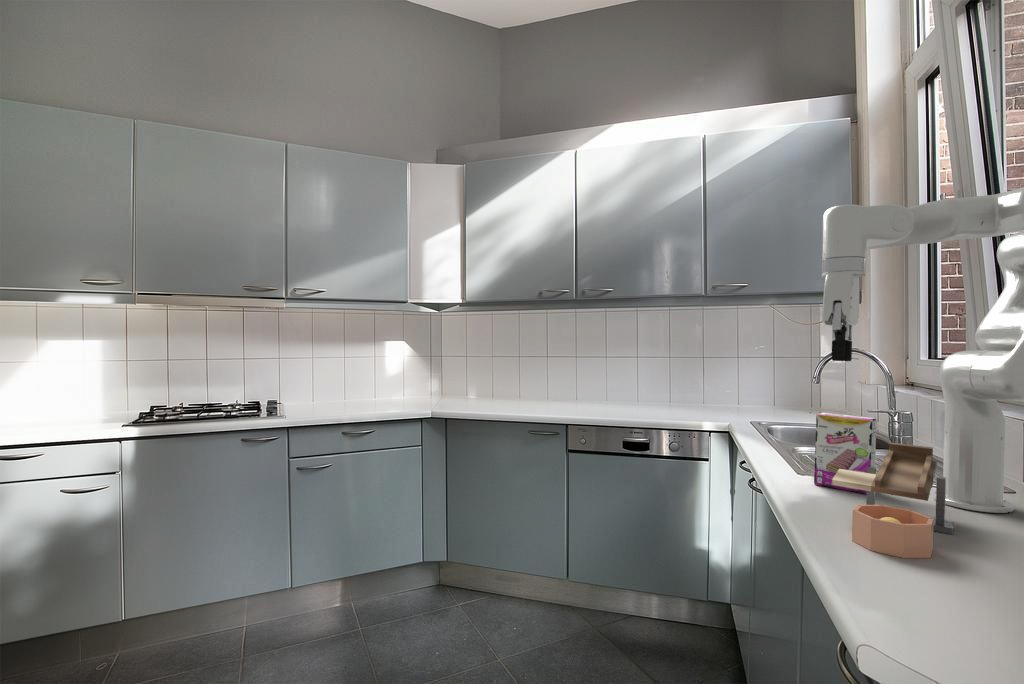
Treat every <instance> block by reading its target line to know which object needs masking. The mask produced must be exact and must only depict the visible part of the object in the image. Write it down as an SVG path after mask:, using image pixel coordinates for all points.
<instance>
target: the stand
mask: <svg viewBox="0 0 1024 684" xmlns="http://www.w3.org/2000/svg"><path fill="white" fill-rule="evenodd" d="M867 473H871V474H877V467H876V466H875V467H868V468H867ZM935 486H936V490H935V492H936V500H935V518H934V517H932V518H933V519H934V520H933V532H938V533H943V534H948V535H953V533H954V528H955V522H954V521H952V520H946V504H945V493H946V477H943V476H937V477H936V485H935ZM876 493H877V492H872V491H867V494H866V504H865V505H876Z"/></svg>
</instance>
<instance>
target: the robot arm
mask: <svg viewBox="0 0 1024 684" xmlns="http://www.w3.org/2000/svg"><path fill="white" fill-rule="evenodd" d="M822 217H823V218H822V255H821V257H822V258H821V278H824V279H825V281H824V285H823V286H824V287H823V288H824V289H823V297H822V298H823V299H822V300H823V301H822V302H823V303H822V313H821V315H822V316H821V321H822V324H823V325H826V326H831V330H832V332H831V334H832V337H831V339H832V341H831V360H832V361H833V362H851V361H852V355H853V349H852V348H853V341H852V338H853V337H852V336H853V335H852V334H853V326H856V325H857V324H858V323H859V318H860V317H859V316H860V315H859V313H860V277H866V275H867V250H874V249H875V250H876V249H884V248H885V249H886V248H892V247H900V246H901V247H902V246H913V245H925V244H935V243H941V242H951V241H961V240H969V239H970V240H971V239H984V238H993V237H998V236H999V237H1000V236H1005V235H1009V236H1006V237H1005V238H1004V239H1003V240H1002V241H1000V243H999V245H998V248H997V251H996V258H997V263H998V265H999V268H1000V270H1001V274H1002V277H1003V283H1004V285H1003V289H1002V292H1001V293H1000V295H999V297H998V298H997V299H996V301H995V302H994V303H993V305H992V306H991V308H990V309H989V311H988V312H987V313H986V315H985V316H984V317H983V318H982V320H981V322H979V323H980V324H979V325H978V327H977V329H976V332H975V335H974V341H975V342H976V346H978V348H979V349H982V350H978V349H977V350H974V349H971V350H963V351H957V352H954V353H952V354H950V355H948V356H947V357H946V358H945V359H944V360H943V361H942V362H941V365H940V368H939V381H940V386H941V390H942V395H943V403H944V426H943V429H944V432H943V433H944V434H943V464H942V465H943V470H942V471H943V473H942V477H946V493H945V505H947V506H951V507H954V508H959V509H963V510H969V511H974V512H981V513H993V514H1008V512H1009V513H1012V512H1014V510H1015V509H1014V504H1013V503H1011V502H1010V501H1007V500H1005V499H1004V492H1005V491H1004V488H1005V487H1004V485H1005V484H1004V482H1005V448H1006V447H1005V445H1006V444H1005V443H1006V442H1005V441H1006V439H1005V438H1006V419H1005V416H1004V413H1003V409H1002V408H1001V406H1000V404H999V403H998V400H999V401H1009V402H1020V403H1021V402H1024V186H1023V187H1019V188H1016V189H1012V190H1008V191H1003V192H1000V193H996V194H990V195H989V194H988V195H978V196H969V197H968V196H966V197H965V196H964V197H956V198H944V199H943V198H942V199H937V200H934V201H929V202H926V203H922V204H918V205H914V206H911V207H906V206H904V205H901V204H895V203H891V204H880V205H869V206H867V205H866V206H863V205H862V204H861V205H860V204H852V203H851V204H842V205H835V206H831V207H830V208H828V209H827V210H825V211H824V213H823V215H822ZM1010 234H1011V235H1010ZM932 495H933V499H934V500H935V501H936V491H934V492H933V494H932Z"/></svg>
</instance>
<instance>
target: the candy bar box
mask: <svg viewBox="0 0 1024 684" xmlns="http://www.w3.org/2000/svg"><path fill="white" fill-rule="evenodd" d="M815 417H816V419H815V426H816V427H815V444H814V445H815V446H814V447H815V448H814V449H815V450H814V475H813V480H814V481H813V485H816V486H819V487H820V486H823V487H827V488H832V489H836V490H842V491H849V492H854V493H858V494H864V495H867V491H866V490H860V489H854V488H848V487H842V486H836V485H832V479H833V478H834V476H835V474H836V473H837V471H838V470H839V469H844V470H851V471H857V472H864V473H867V468H868V467H876V447H877V418H875V417H867V416H857V415H856V416H855V415H849V414H839V413H831V412H819V413H817V414H816V416H815Z"/></svg>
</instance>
